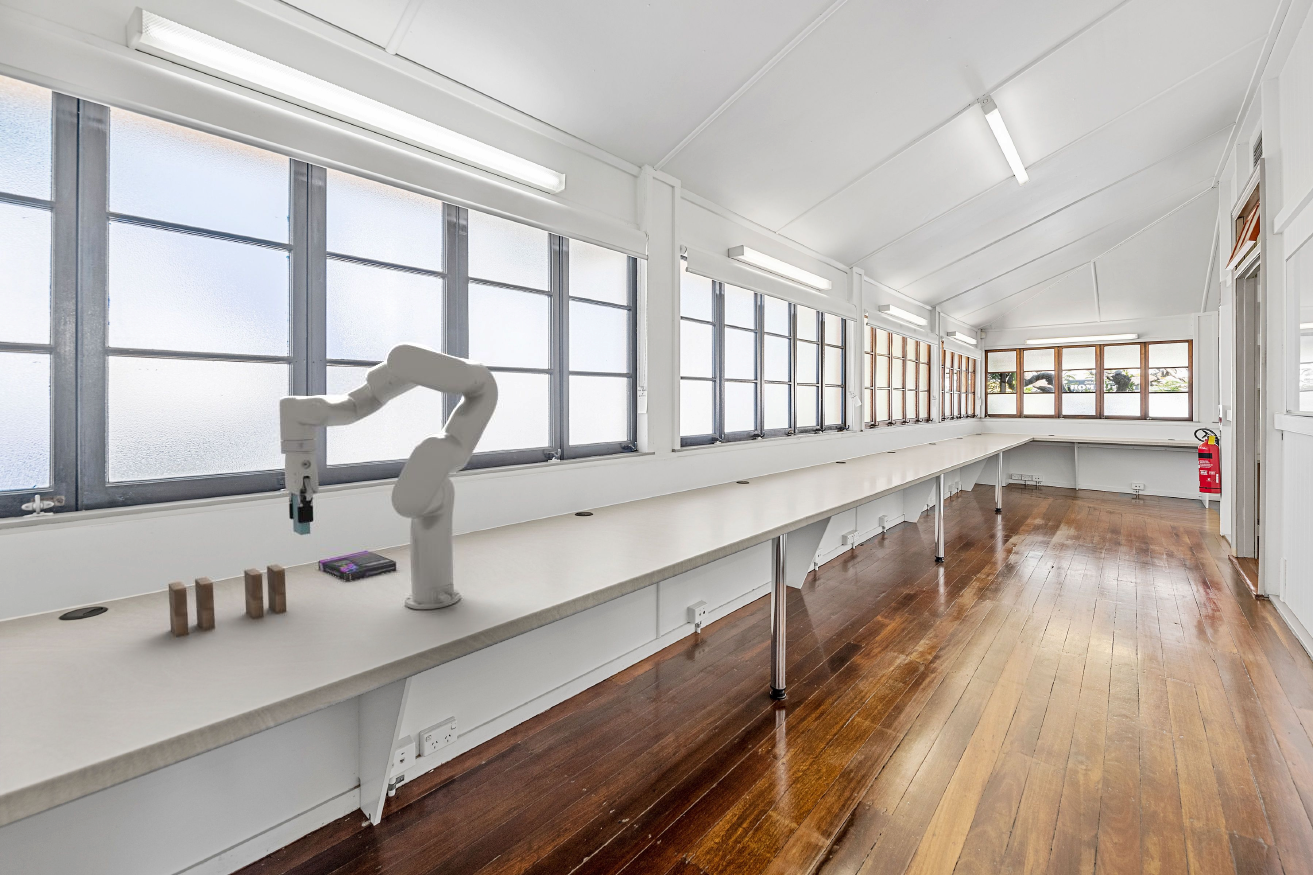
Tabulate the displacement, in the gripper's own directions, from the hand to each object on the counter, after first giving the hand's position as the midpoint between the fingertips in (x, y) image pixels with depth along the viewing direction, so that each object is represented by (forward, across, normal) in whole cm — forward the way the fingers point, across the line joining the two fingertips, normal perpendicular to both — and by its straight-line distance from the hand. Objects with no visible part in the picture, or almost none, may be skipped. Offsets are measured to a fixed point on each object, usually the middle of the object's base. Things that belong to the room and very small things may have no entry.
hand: (301, 519), depth 143 cm
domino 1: (+20, -4, +24) cm, 32 cm away
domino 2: (+20, -4, +20) cm, 28 cm away
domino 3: (+20, -4, +11) cm, 23 cm away
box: (+21, +17, -19) cm, 33 cm away
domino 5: (+3, 0, 0) cm, 3 cm away
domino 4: (+20, -4, +6) cm, 21 cm away
